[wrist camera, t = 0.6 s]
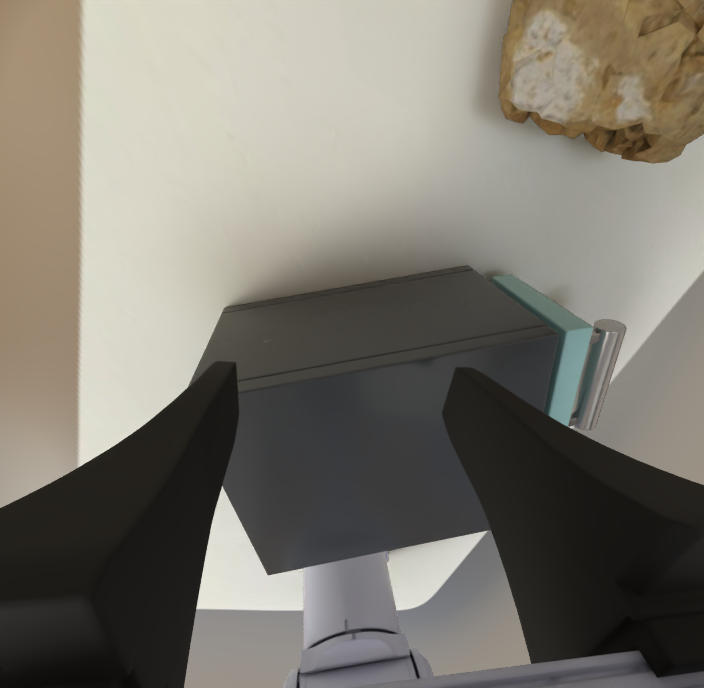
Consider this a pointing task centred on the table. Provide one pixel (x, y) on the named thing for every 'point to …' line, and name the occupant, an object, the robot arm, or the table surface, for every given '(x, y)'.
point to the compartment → (365, 410)
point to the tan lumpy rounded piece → (608, 73)
